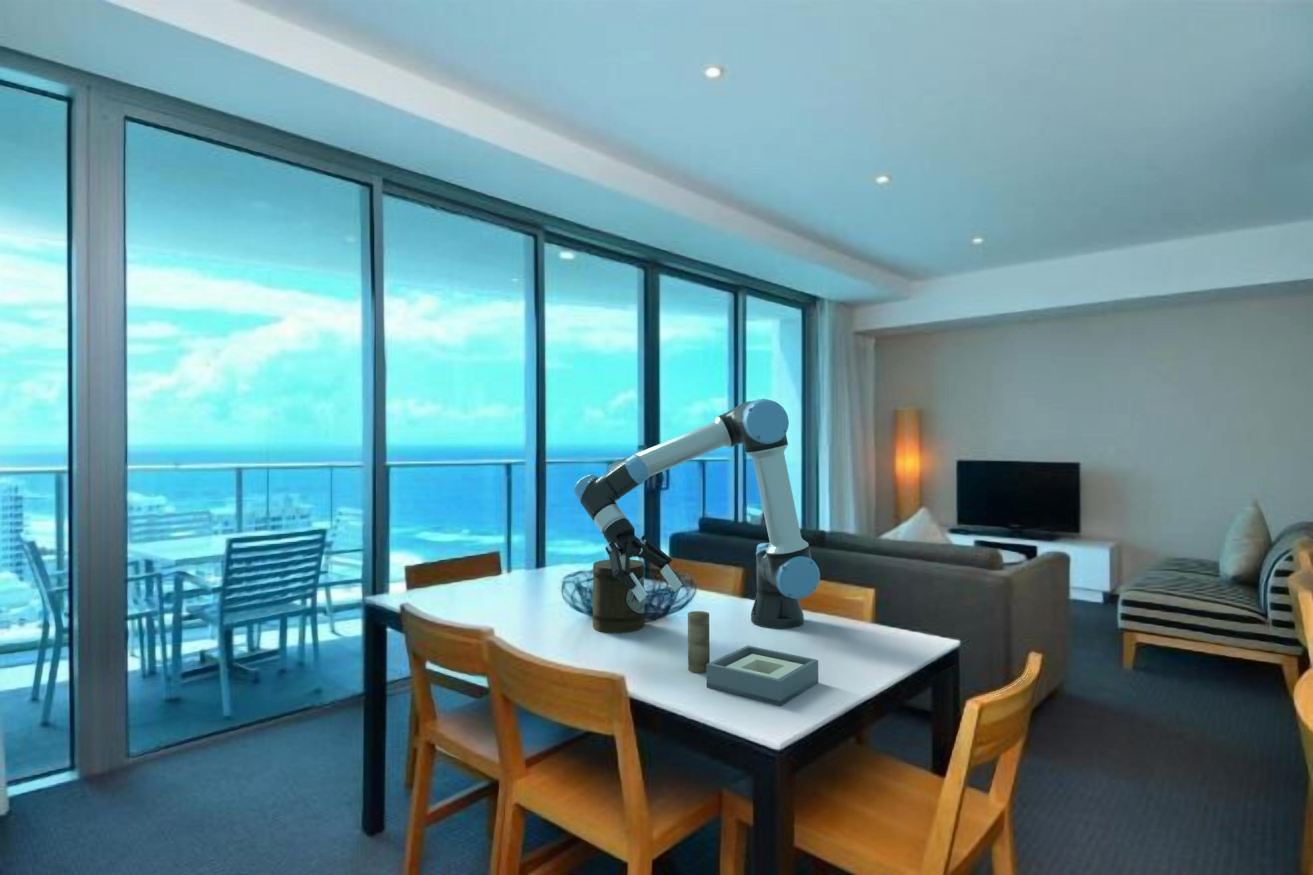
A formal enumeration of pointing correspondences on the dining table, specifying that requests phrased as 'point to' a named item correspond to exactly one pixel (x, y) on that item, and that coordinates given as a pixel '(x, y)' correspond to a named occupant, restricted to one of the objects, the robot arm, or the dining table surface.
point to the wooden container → (616, 599)
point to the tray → (760, 681)
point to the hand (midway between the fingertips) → (661, 593)
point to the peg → (698, 641)
